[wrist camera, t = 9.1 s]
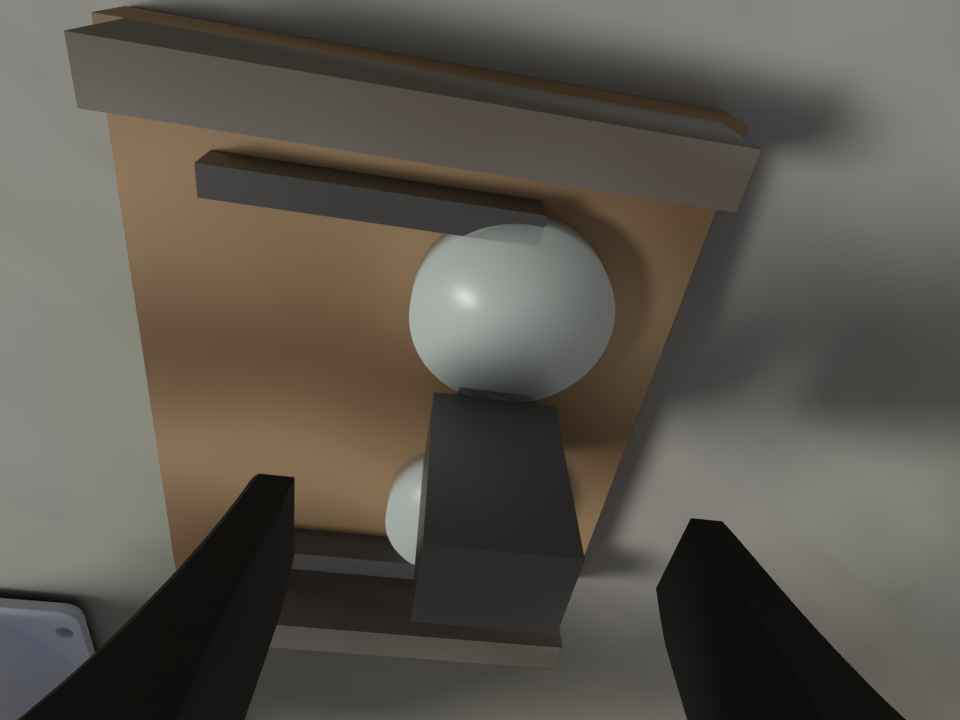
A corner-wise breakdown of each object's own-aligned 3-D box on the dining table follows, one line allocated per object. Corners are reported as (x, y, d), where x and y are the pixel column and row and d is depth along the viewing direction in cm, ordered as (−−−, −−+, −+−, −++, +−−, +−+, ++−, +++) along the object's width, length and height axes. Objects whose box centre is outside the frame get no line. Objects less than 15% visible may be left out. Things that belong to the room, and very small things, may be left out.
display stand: (557, 578, 20) (571, 670, 17) (192, 544, 19) (150, 638, 16) (724, 111, 12) (792, 155, 10) (126, 6, 11) (24, 24, 8)
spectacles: (527, 565, 17) (545, 749, 13) (237, 538, 17) (165, 726, 13) (634, 214, 12) (719, 350, 8) (210, 149, 11) (66, 264, 7)
